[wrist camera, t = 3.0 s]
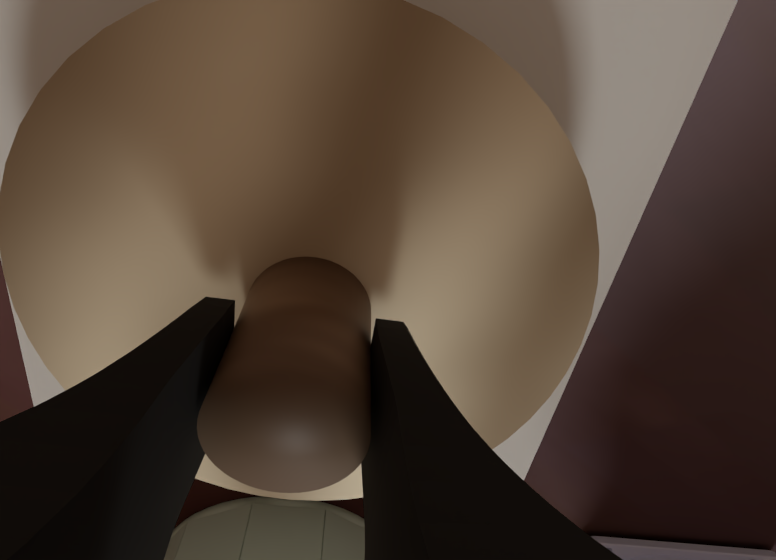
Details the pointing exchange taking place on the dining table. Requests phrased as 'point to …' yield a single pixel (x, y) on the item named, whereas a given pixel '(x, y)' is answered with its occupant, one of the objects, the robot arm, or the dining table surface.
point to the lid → (301, 221)
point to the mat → (524, 54)
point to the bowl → (269, 532)
